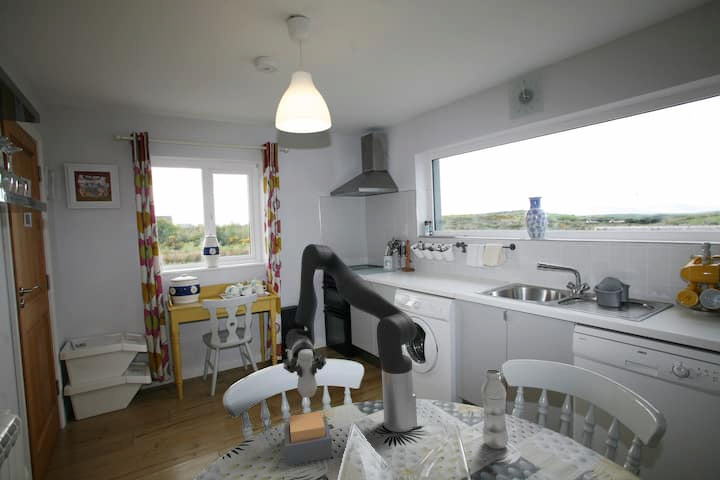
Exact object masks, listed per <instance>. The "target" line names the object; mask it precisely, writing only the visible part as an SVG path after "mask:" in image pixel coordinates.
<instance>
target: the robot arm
mask: <svg viewBox="0 0 720 480" xmlns="http://www.w3.org/2000/svg"><path fill="white" fill-rule="evenodd" d="M300 264H301V265H300V288H299V289H300V290H299V298H298V303H297V308H296V313H295V322H296V323H297V324H298V325H300V326H304V327H305V328H306V330H305V329H298V328H297V329H296V328H292V329H290V330H289V331H288V332H287V333H286V335H285V337H286V338H285V343H286V346H287V348H288V349H289V350H290V351H291V359H290V360H289V359H285V358H284V359H283V360H282V362H283V364H282V365H283V369H284V370H285V371H287V372H289V373H290V374H294V373H295V372H296V376H297V377H299V376H300V377H302V367H300V361H301V360H300V359H299V357H298V353H299V352H300V351H301V350H304V349H310V350H312V351H313V358H312V359H311V360H312V375H315V376H316V374H317V373H318V370H322V369H323V368H324V367H325V366H326V364H327V355H326V354H322V355H321V356H319V355H317V354H316V351H315V347H314V346H315V342H316V337H315V317H316V315H317V314H316V313H317V309H318V298H317V297H318V296H317V292H316V288H315V285H314V280H315V279H314V277H315V273H316V270H318V271H324V272H326V273H327V274H329V276H330V277H332V278H333V279H334V282H335V285H336V289H337V291H338V293H339V295H340V296H341V297H342V298H343V299H344V300H345V302H347V303H348V304H349V305H350V306H352V307H353V308H355V309H356V310H358V311H361V312H364V313H366V314H369V315H371V316H373V317H375V318H377V319H378V322H377V325H376V326H377V327H376V343H377V354H378V355H377V356H378V359H379V362H380V364H381V378H382V379H381V381H382V383H381V384H382V400H383V401H382V402H383V423H384V425H383V426H384V427H385V428H386V429H387V430H388V431H391V432H394V433H405V432H409V431H411V430H413V429H414V428H417V427H418V418H417V417H418V414H417V395H416V394H415V392H414V377H413V361H412V358H411V357H410V356H408V355H405V354H403V347H402V346H403V345H406V344H409V343H410V342H412V341H414V340H415V338H416V337H417V333H418V332H417V331H418V330H417V325H416V324H415V321H414V320H413V318H412V317H411V315H408V313H406V312H404V311H403V310H402V309H400V308H399V307H398V306H396V305H394V304H393V303H392V302H390V301H389V299H387V298H386V297H384V296H383V295H382V294H381V293H380V292H379V291H377V290H376V289H375V288H373V286H371V285H370V284H369V283H368V282H367V280H365V279H364V278H363V277H362V276H360V275H359V274H358V273H357V272H356V271H354V270H353V269H352V268H351V267H350V266H348V265H347V264H346V263H345V262H344V260H342V259H341V257H340V256H339V255H338V254H337V253H336V252H335V251H334V250H333V248H331V247H330V246H328V245H323V244H317V243H316V244H315V243H311V244H307V245H306V246H305V248H303V251H302V256H301V263H300Z"/></svg>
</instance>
